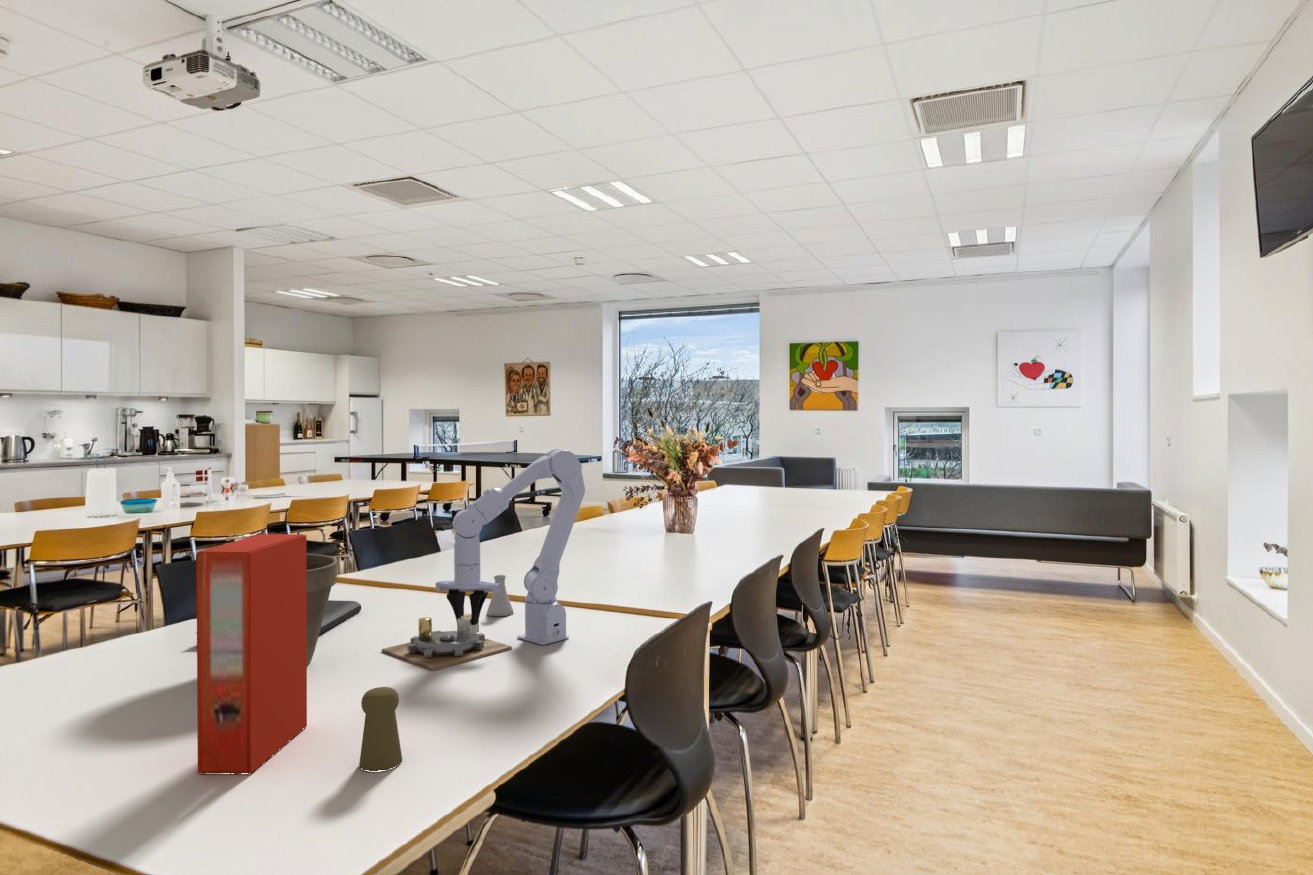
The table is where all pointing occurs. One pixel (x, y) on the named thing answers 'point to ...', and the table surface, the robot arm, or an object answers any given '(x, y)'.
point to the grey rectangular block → (466, 626)
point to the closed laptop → (338, 613)
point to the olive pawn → (380, 730)
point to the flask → (500, 600)
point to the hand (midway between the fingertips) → (467, 623)
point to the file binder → (250, 650)
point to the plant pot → (318, 594)
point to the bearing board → (444, 661)
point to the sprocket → (442, 641)
